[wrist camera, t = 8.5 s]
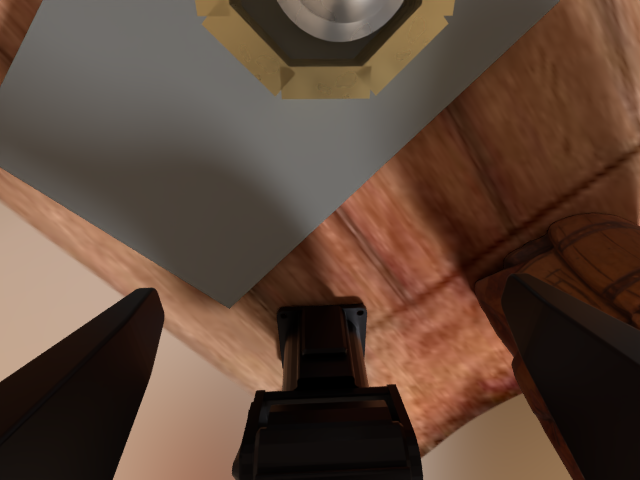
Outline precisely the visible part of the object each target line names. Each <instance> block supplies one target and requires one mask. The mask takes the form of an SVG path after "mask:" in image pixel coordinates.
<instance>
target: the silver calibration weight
mask: <svg viewBox="0 0 640 480" xmlns="http://www.w3.org/2000/svg"><path fill="white" fill-rule="evenodd" d="M403 1H404V0H277V2H278V3H279V5H280V6H281V8H282V9H283V11H284V12H285V13H286V15H287V16H288V17H289V18H290V19H291V20H292V21H293V22H294V23H295V24H296V25H297V26H298V27H299V28H301V29H302V30H304V31H305V32H307V33H308V34H310V35H312V36H314V37H317V38H320V39H322V40H327V41H332V42H346V41H352V40H356V39H360V38H362V37H365V36H367V35H369V34H371V33H373V32H374V31H376V30H378V29H379V28H380V27H382V26H383V25H384V24H385V23H386V22H387V21H388V20H389V19H390V18H391V17H392V16H393V15H394V14H395V13H396V11H397V10H398V9H399V7H400V6H401V4H402V3H403Z"/></svg>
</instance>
